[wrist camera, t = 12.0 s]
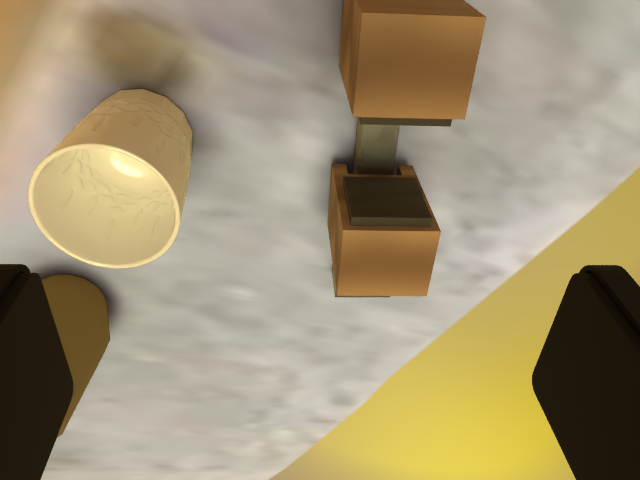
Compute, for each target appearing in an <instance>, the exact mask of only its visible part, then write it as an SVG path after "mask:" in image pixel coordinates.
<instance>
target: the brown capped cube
mask: <svg viewBox="0 0 640 480" xmlns="http://www.w3.org/2000/svg"><path fill="white" fill-rule="evenodd" d="M328 230H329V238H330V246H331V254H332V261H333V269H334V277H335V285H336V293H337V296H427V292H428V288H429V283H430V278H431V274H432V269H433V265H434V260H435V256H436V251H437V246H438V242H439V237H440V233H441V231H440V229H439V226H438V224H437V222H436V219H435V217H434V215H433V212H432V210H431V208H430V206H429V203H428V201H427V199H426V196H425V194H424V192H423V189H422V187H421V185H420V182H419V180H418V178H417V176H416V173H415V171H414V169H413V166H408V165H398V172H397V175H372V174H348V171H347V167H346V164H332V170H331V183H330V197H329V210H328Z"/></svg>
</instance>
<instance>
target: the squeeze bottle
mask: <svg viewBox="0 0 640 480" xmlns="http://www.w3.org/2000/svg"><path fill="white" fill-rule="evenodd" d="M42 283H43V287H44V290H45V293H46V296H47V299H48V302H49V305H50V309H51V312H52V315H53V318H54V321H55V324H56V327H57V331H58V334H59V337H60V340H61V343H62V346H63V350H64V353H65V356H66V359H67V362H68V365H69V368H70V372H71V375H72V378H73V385H74V388H73V396H72V399H71V402H70V405H69V408H68V410H67V413H66V415H65V418H64V420H63V423H62V425H61V428H60V431H59V433H58V436H57V437H59V436H60V435H61V434H63V432H64V430H65V428H66V426H67V424H68V422H69V420H70V418H71V416H72V414H73V412H74V410H75V408H76V406H77V404H78V403H79V401H80V399H81V397H82V395H83V393H84V391H85V389H86V387H87V385H88V383H89V381H90V379H91V377H92V375H93V373H94V371H95V370H96V368H97V366H98V364H99V362H100V360H101V358H102V356H103V354H104V352H105V350H106V348H107V345H108V343H109V341H110V333H109V322H108V311H107V304H106V298H105V296H104V295H103V294H102V292H101V291H100V289H99V288H98V287H97V286H95V285H94V284H92V283H91V282H89V281H88V280H86V279H83V278H80V277H77V276H74V275H62V274H57V275H53V276H50V277H47V278H44V279H42Z"/></svg>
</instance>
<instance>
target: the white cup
mask: <svg viewBox="0 0 640 480" xmlns="http://www.w3.org/2000/svg"><path fill="white" fill-rule="evenodd" d="M192 138H193V132H192V130H191V128H190V126H189V124H188V121H187V119H186V117H185V115H184V113H183V112H182V111H181V110H180V109H179V108H178V107H177V106H175V105H174V104H173V103H172V102H171V101H170V100H169V99H168V98H167V97H165V96H162V95H159V94H156V93H154V92H151V91H148V90H145V89H133V90H120V91H118V92H117V93H115V94H113V95H112V96H110V97H109V98H107V99H105V100H104V101H102V102H101V103H100V104H99V105H98V106H97V107H96V108H95V109H94V110H93V111H91V112H90V113H89V114H88V115H87V116H86V117H85V118H84V119H83V120H82V121H81V122H80V123H78V124H77V125H76V126H75V127H74V128H73V129H72V130H71V131H70V132H69V134H68V135H67V136H66V137H65V138H64V139H63V140H62V141H61V142H60V143H59V144H58V145H57V146H56V147H55V148H54V149H53V150H52V152H51V153H50V154H49V155H48V156H47V157H46V158H45V159H44V160H43V161H42V162H41V163H40V164H39V165H38V167H37V168H36V169H35V171H34V173H33V175H32V177H31V180H30V184H29V189H28V200H29V206H30V210H31V213H32V215H33V218H34V220H35V222H36V224H37V225H38V227H39V228H40V230H41V231H42V232H43V234H44V235H45V236H46V237H47V238H48V239H49V240H50V241H51V242H52V243H53V244H54V245H55V246H57V247H58V248H59V249H60V250H62V251H63V252H65V253H67V254H68V255H70V256H72V257H74V258H76V259H78V260H80V261H83V262H85V263H88V264H92V265H96V266H100V267H106V268H129V267H135V266H139V265H143V264H145V263H148V262H150V261H152V260H154V259H156V258H158V257H159V256H160V255H162V254H163V253H164V252H165V251H166V250H167V249H168V248H169V247H170V246H171V244H172V243H173V241H174V240H175V238H176V236H177V233H178V230H179V226H180V220H181V215H182V210H183V205H184V201H185V196H186V191H187V186H188V178H189V172H190V166H191V155H192Z"/></svg>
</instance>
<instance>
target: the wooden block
mask: <svg viewBox="0 0 640 480" xmlns="http://www.w3.org/2000/svg"><path fill="white" fill-rule="evenodd" d="M485 20H486V17H485V16H484V15H483V14H481V13H480V12H478V11H477V10H476V9H474V8H473V7H472V6H470V5H469V4H468V3H466V2H465V1H464V0H343V8H342V23H341V38H340V53H339V69H340V72H341V76H342V79H343V83H344V86H345V90H346V93H347V97H348V100H349V104H350V108H351V111H352V115H353V117H359V121H360V124H366V125H413V126H451V121H452V119H465V115H466V110H467V106H468V101H469V96H470V92H471V87H472V82H473V77H474V73H475V68H476V63H477V58H478V54H479V49H480V44H481V39H482V35H483V30H484V25H485Z"/></svg>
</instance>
